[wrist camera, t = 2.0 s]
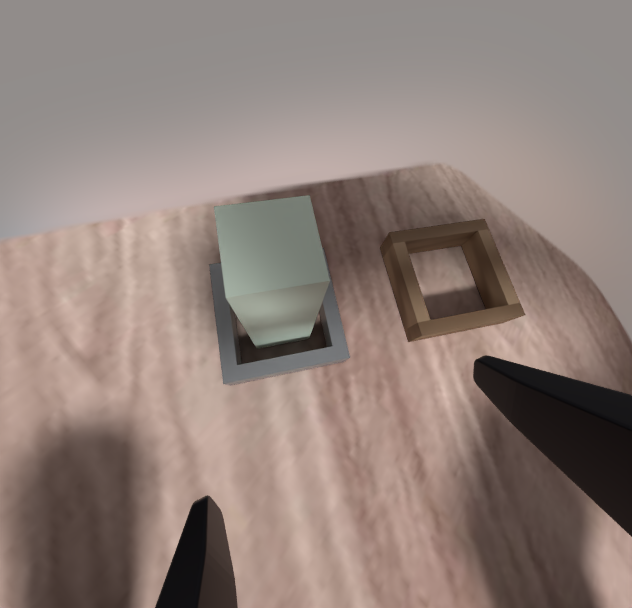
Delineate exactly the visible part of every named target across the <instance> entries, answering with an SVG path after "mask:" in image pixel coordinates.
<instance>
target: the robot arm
mask: <svg viewBox="0 0 632 608" xmlns="http://www.w3.org/2000/svg"><path fill="white" fill-rule="evenodd" d="M473 378H474V381H475V383H476V384H477V385H478V387H479V388H480V389H481V390H482V391H483V392H484V393H485V395H486V396H487V397H488V398H489V399H490V400H491V401H492V402H493V404H494V405H495V406H496V407H497V408H498V409H499V410H500V411H501V413H502V414H503V415H504V416H505V417H506V418H507V419H508V420H509V421H510V422H511V423H512V424H513V425H514V426H515V427H516V428H517V429H518V430H519V431H520V432H521V433H522V434H523V435H524V436H525V437H526V438H527V439H529V440H530V441H531V442H532V443H533V444H534V445H535V446H536V447H537V448H538V449H539V450H540V451H541V452H542V453H543V454H544V455H546V456H547V457H548V458H549V459H550V460H551V461H552V462H553V463H554V464H555V465H556V466H557V467H558V468H559V469H560V470H561V471H562V472H564V473H565V474H566V475H567V476H568V477H569V478H570V479H571V480H572V481H573V482H574V483H575V484H576V485H577V486H578V487H579V488H581V489H582V490H583V491H584V492H585V493H586V494H587V495H588V496H589V497H590V498H591V499H592V500H593V501H594V502H595V503H596V504H598V505H599V506H600V507H601V508H602V509H603V510H604V511H605V512H606V513H607V514H608V515H609V516H610V517H611V518H612V519H613V520H614V521H616V522H617V523H618V524H619V525H620V526H621V527H622V528H623V529H624V530H625V531H626V532H627V533H628V534H629V535H630V536H631V537H632V396H631V395H630V394H626V393H622V392H619V391H615V390H611V389H608V388H604V387H600V386H597V385H593V384H590V383H586V382H582V381H579V380H575V379H571V378H568V377H564V376H560V375H557V374H553V373H550V372H546V371H542V370H539V369H535V368H531V367H528V366H524V365H520V364H517V363H513V362H510V361H506V360H502V359H499V358H495V357H491V356H482V357H480V358H478V359H476V360H475V362H474V372H473ZM155 608H238V607H237V596H236V586H235V578H234V572H233V566H232V561H231V556H230V551H229V545H228V540H227V535H226V530H225V524H224V519H223V515H222V512H221V510H220V508H219V507H218V506H217V504H216V503H215V502H214V501H213V499H212V498H211V497H210V496H205V497H203V498H201V499H199V500H197V501H195V502H194V503H193V505H192V507H191V509H190V512H189V515H188V518H187V520H186V523H185V526H184V529H183V532H182V534H181V537H180V540H179V543H178V545H177V548H176V551H175V554H174V557H173V559H172V562H171V565H170V568H169V570H168V573H167V576H166V579H165V582H164V584H163V587H162V590H161V593H160V595H159V598H158V601H157V604H156V607H155Z"/></svg>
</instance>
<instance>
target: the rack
mask: <svg viewBox="0 0 632 608" xmlns="http://www.w3.org/2000/svg"><path fill="white" fill-rule="evenodd" d="M456 246H462V249H463V251H464V254H465V257H466V259H467V262H468V264H469V267H470V269H471V272H472V275H473V277H474V280H475V282H476V285H477V288H478V290H479V293H480V295H481V298H482V300H483V303H484V306H485V308H486V309H485V310H480V311H475V312H469V313H464V314H459V315H454V316H449V317H444V318H438V319H433V320H430V317H429V314H428V311H427V308H426V305H425V302H424V299H423V296H422V293H421V290H420V287H419V284H418V281H417V278H416V274H415V271H414V268H413V265H412V262H411V259H410V256H409V254H411V253H417V252H424V251H430V250H436V249H443V248H449V247H456ZM380 249H381V252H382V256H383V259H384V262H385V266H386V269H387V272H388V276H389V279H390V282H391V285H392V289H393V292H394V295H395V299H396V302H397V305H398V309H399V312H400V315H401V319H402V322H403V325H404V329H405V332H406V335H407V339H408V342H411V341H416V340H421V339H426V338H431V337H436V336H441V335H446V334H451V333H456V332H461V331H466V330H471V329H475V328H480V327H485V326H490V325H495V324H500V323H504V322H507V321H510V320H513V319H515V318H518V317H521V316H524V315H525V313H524V311H523V308H522V306H521V304H520V301H519V299H518V297H517V294H516V292H515V290H514V287H513V285H512V282H511V280H510V278H509V275H508V273H507V271H506V268H505V266H504V264H503V261H502V259H501V256H500V254H499V252H498V249H497V247H496V245H495V242H494V240H493V238H492V235H491V233H490V231H489V228H488V226H487V223H486V221H485V219H480V220H473V221H466V222H459V223H452V224H445V225H438V226H431V227H424V228H417V229H410V230H403V231H396V232H389V234H388V236H387V237H386V239H385V240H384V242H383V244H382V245H381V247H380Z"/></svg>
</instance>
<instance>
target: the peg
mask: <svg viewBox="0 0 632 608" xmlns="http://www.w3.org/2000/svg"><path fill="white" fill-rule="evenodd" d="M214 211H215V219H216V227H217V234H218V242H219V250H220V258H221V265H222V273H223V281H224V288H225V296H226V299H227V301H228V302H229V304H230V306H231V307H232V309H233V311H234V312H235V314H236V315H237V317H238V319H239V320H240V322H241V324H242V325H243V327H244V328H245V330H246V332H247V333H248V335H249V337H250V338H251V340H252V342H253V343H254V345H255V346H256V348H257V349H259V348H265V347H270V346H275V345H280V344H286V343H291V342H296V341H301V340H306V339H309V337H310V335H311V332H312V329H313V326H314V324H315V321H316V318H317V315H318V312H319V310H320V307H321V304H322V301H323V299H324V296H325V293H326V290H327V288H328V285H329V282H330V279H329V275H328V270H327V266H326V262H325V258H324V254H323V249H322V245H321V241H320V237H319V233H318V228H317V224H316V220H315V216H314V212H313V207H312V203H311V199H310V195H307V196H299V197H291V198H282V199H274V200H265V201H257V202H248V203H240V204H231V205H223V206H214Z"/></svg>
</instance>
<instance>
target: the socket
mask: <svg viewBox="0 0 632 608" xmlns="http://www.w3.org/2000/svg"><path fill="white" fill-rule="evenodd" d="M322 249H323V254H324V258H325V262H326V266H327V270H328V275H329V279H330V282H329V285H328V288H327V290H326V293H325V296H324V299H323V301H322V304H321V307H320V310H319V313H320V318H321V322H322V327H323V331H324V336H325V340H326V345H327V348H322V349H317V350H312V351H306V352H301V353H296V354H291V355H286V356H281V357H276V358H271V359H266V360H261V361H256V362H251V363H246V364H242V361H241V354H240V347H239V340H238V332H237V325H236V318H235V312H234V311H233V309H232V307H231V306H230V304H229V302H228V301H227V299H226V296H225V288H224V281H223V273H222V265H221V263H216V264H209V266H210V275H211V283H212V292H213V300H214V309H215V317H216V326H217V334H218V343H219V352H220V360H221V369H222V377H223V384H226V385H235V384H240V383H245V382H250V381H254V380H259V379H264V378H269V377H274V376H279V375H283V374H288V373H293V372H298V371H303V370H308V369H312V368H317V367H322V366H327V365H332V364H337V363H341V362H344V361H346V360H348V359H349V358H350V355H349V351H348V347H347V343H346V339H345V334H344V330H343V326H342V322H341V318H340V314H339V309H338V305H337V301H336V297H335V293H334V289H333V284H332V280H331V276H330V272H329V268H328V264H327V259H326V255H325V251H324V248H322Z"/></svg>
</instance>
